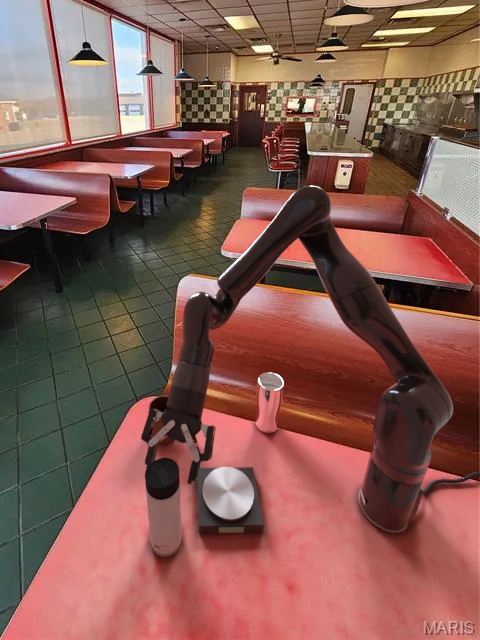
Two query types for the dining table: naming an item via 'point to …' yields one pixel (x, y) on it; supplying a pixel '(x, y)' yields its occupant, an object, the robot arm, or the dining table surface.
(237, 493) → the scale pan
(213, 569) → the dining table surface
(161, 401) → the mug
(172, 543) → the travel mug
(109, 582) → the dining table surface
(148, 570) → the dining table surface
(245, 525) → the scale
